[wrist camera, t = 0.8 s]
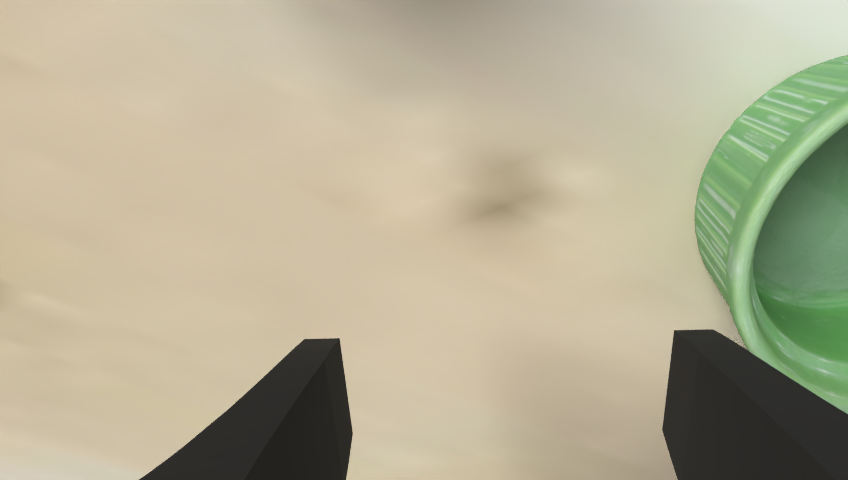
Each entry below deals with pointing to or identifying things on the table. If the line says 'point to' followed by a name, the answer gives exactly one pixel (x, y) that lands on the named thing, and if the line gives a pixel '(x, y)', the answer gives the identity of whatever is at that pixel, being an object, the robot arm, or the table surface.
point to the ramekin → (785, 227)
